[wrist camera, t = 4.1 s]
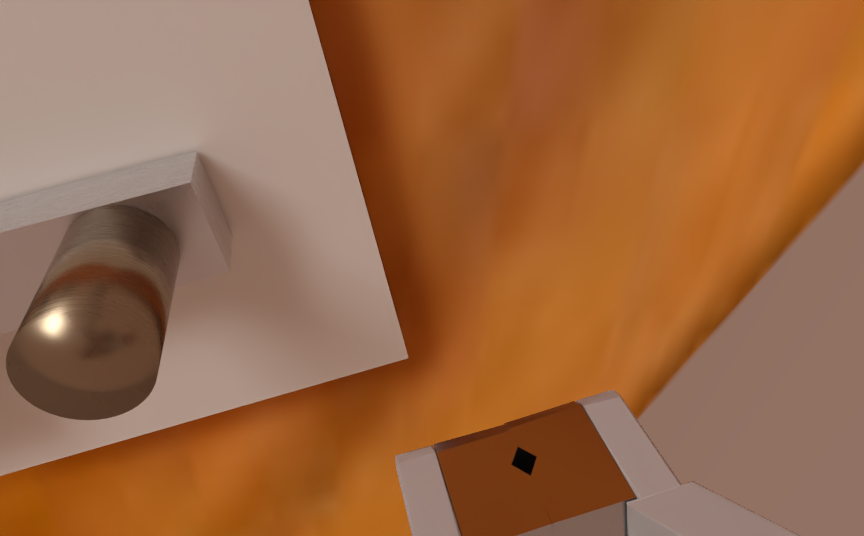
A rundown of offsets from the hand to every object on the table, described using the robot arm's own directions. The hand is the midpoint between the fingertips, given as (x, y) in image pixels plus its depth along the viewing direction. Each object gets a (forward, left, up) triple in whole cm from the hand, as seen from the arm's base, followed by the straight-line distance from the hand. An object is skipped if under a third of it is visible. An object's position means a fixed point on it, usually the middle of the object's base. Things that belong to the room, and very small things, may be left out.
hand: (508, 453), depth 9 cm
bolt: (+9, 0, -10) cm, 14 cm away
